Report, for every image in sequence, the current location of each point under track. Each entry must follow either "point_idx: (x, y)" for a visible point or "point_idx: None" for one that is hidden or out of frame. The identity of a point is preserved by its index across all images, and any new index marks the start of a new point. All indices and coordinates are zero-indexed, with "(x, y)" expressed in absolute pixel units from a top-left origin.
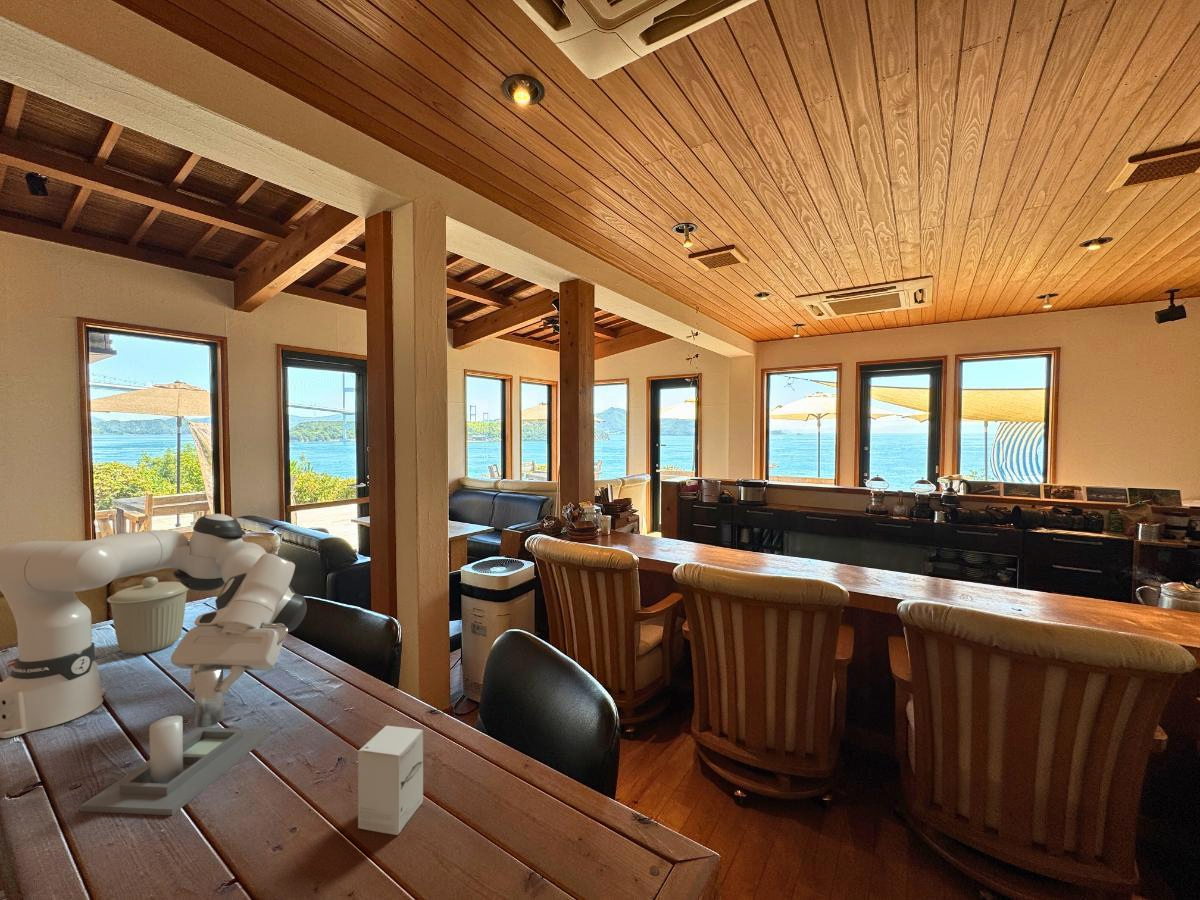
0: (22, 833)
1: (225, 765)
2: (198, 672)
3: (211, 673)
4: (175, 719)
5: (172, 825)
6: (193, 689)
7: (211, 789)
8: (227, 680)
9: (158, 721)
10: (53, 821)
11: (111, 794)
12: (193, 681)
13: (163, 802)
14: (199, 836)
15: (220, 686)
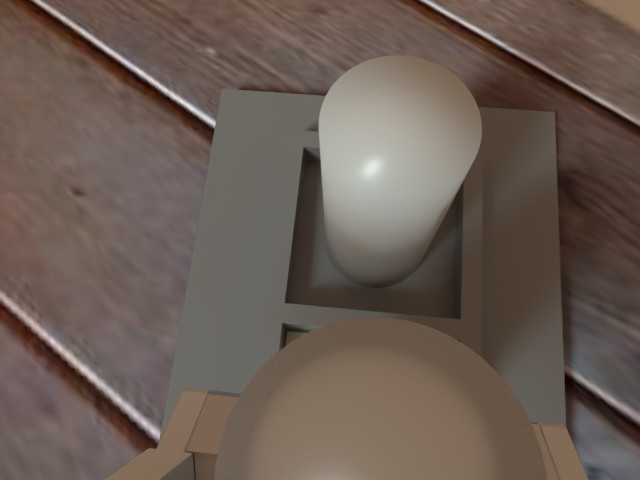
0: (625, 48)
1: (188, 305)
2: (480, 424)
3: (272, 385)
4: (366, 152)
5: (195, 65)
6: None
7: (180, 209)
8: (147, 452)
9: (462, 135)
10: (587, 87)
11: (502, 157)
12: (551, 477)
13: (276, 116)
14: (87, 28)
15: (206, 405)
